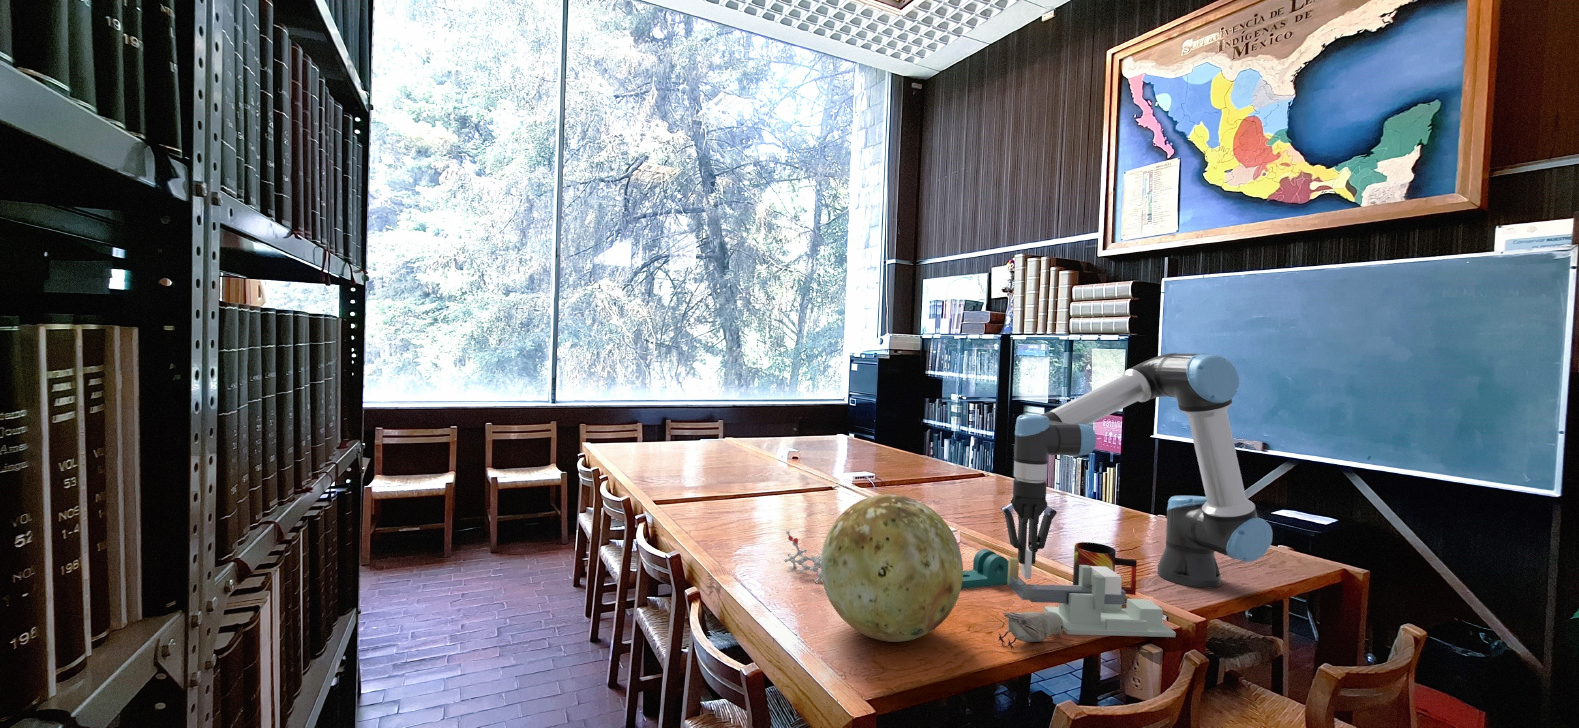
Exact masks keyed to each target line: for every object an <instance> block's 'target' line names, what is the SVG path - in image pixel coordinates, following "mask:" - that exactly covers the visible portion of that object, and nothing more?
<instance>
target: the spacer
mask: <svg viewBox="0 0 1579 728" xmlns="http://www.w3.org/2000/svg"><path fill="white" fill-rule="evenodd" d="M1090 567H1091V585H1092V581H1093V575H1102V576H1104V577H1105V594H1114V595H1121V586H1122V581H1123V580H1122V576H1121V575H1119V573H1116V571H1115V572H1114V571H1112V570H1111V569H1109V568H1108V567H1105V566H1090Z"/></svg>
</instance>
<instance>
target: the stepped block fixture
mask: <svg viewBox="0 0 1579 728" xmlns="http://www.w3.org/2000/svg"><path fill="white" fill-rule="evenodd" d="M1068 585H1069V586H1091V567H1090V566H1088V565H1079V585H1073V584H1068ZM1104 600H1105V577H1104V576H1102V575H1093V581H1092V594H1089V593H1069V603H1058V606H1047V605H1046V606H1043V611H1044V612H1054V613H1057V614H1058V615H1059V616H1060V617H1061V619H1062V621H1063V625H1064V628H1063V631H1064V633H1065V634H1067V635H1077V636H1078V635H1079V636H1112V637H1113V636H1118V637H1119V636H1123V637H1154V638H1155V637H1157V638H1159V637H1160V638H1176V635H1177V632H1176V631H1174V630H1173V629H1172V628H1170V627H1169V626H1168V625H1166V624H1165V623H1164V622H1163V613H1164V609H1163V608H1161V607H1160V606H1159V605H1158V604H1156V603H1154V602H1153V601H1151V600H1149V598H1126V607H1125V608H1123V605H1118V604H1104Z"/></svg>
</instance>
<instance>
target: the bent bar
mask: <svg viewBox="0 0 1579 728" xmlns="http://www.w3.org/2000/svg"><path fill="white" fill-rule="evenodd" d="M1007 560H1008V581H1007V584H1008V586H1009V587H1010V589H1012V591H1013V592H1015V594H1016V595H1018V597H1019V598H1020V599H1021V600H1022V601H1029V602H1030V603H1041V604H1042V603H1044V604H1045V603H1046V604H1048V603H1049V604H1050V603H1051V604H1059V603H1069V593H1089V594H1092V586H1069V585H1070V584H1028V583H1026V582H1025V581H1024V580H1023V579H1022V578H1021V577H1020V576H1019V567H1020V563H1019V559H1018V557H1012V556H1011V557H1008V558H1007ZM1126 595H1127V594H1126V592H1125V591H1124V590H1123V589H1121V595H1114V594H1105V600H1104V604H1118V605H1122V606H1126Z"/></svg>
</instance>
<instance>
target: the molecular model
mask: <svg viewBox="0 0 1579 728" xmlns="http://www.w3.org/2000/svg"><path fill="white" fill-rule="evenodd" d="M785 531H786V532H785V533H786V534H787V536H788V537H787V540H788V541H789V542H792V546H794V547H795V548H796V550H797V552H796V554H794V555H792V554H791V553H790V552H789V553H787V557H788V558H784V563H788V562H790V563H792V567H793V568H794V567H796V568H797V566H802V568H800V570H799V573H804V571H809V572H810V573H812V572H814V573H817V574H818V575H817V576H818V577H817V578H816V579H814V583H815V582H818V583H819V581H820V580H821V579H822V576H821V571H819V569H821V556H820V555H817V556H815V555H811V556H810V557H808V555H804V554H803V553H807V551H808V550H807V549H806V548H803V549H800V548H799V539H798V538H797V537H794V536H793V535H791V534H790V530H785ZM798 556H801V558H799V559H798V560H797V559H796V558H797V557H798ZM807 561H810V562H811V561H812V563H813V566H808V565H807V564H804V563H805V562H807ZM797 564H798V565H797Z"/></svg>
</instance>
